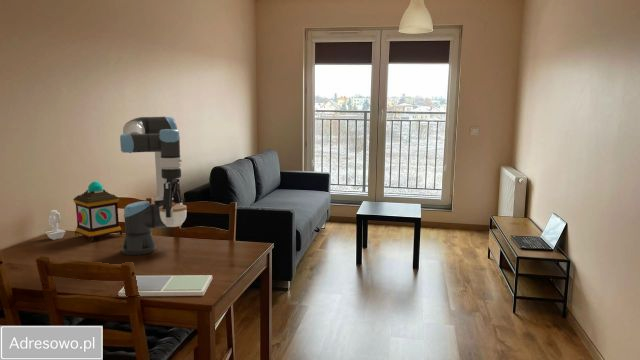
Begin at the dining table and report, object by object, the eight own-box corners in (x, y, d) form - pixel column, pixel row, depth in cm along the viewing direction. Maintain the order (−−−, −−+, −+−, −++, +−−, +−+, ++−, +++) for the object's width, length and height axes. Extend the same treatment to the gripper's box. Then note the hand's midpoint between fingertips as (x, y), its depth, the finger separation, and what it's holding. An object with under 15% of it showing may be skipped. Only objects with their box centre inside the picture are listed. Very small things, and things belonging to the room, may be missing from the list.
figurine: (58, 235, 252) (56, 208, 250) (67, 238, 247) (65, 210, 245) (44, 238, 247) (42, 210, 244) (53, 241, 241) (50, 212, 239)
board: (118, 296, 172) (118, 291, 172) (135, 279, 189) (134, 275, 189) (203, 295, 173) (203, 290, 173) (212, 278, 190) (212, 274, 190)
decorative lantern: (108, 229, 264) (104, 177, 260) (126, 235, 252) (122, 180, 247) (71, 237, 249) (66, 181, 244) (88, 244, 237) (84, 185, 232)
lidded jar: (179, 229, 185) (178, 205, 184) (154, 227, 187) (153, 204, 186) (192, 222, 195) (191, 200, 194) (168, 221, 197) (167, 199, 196)
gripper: (172, 171, 176) (174, 228, 180) (187, 164, 199) (189, 215, 202) (152, 171, 176) (155, 228, 179) (170, 164, 199) (172, 215, 202)
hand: (173, 221), depth 191 cm, fingers closed on lidded jar, 11 cm apart
